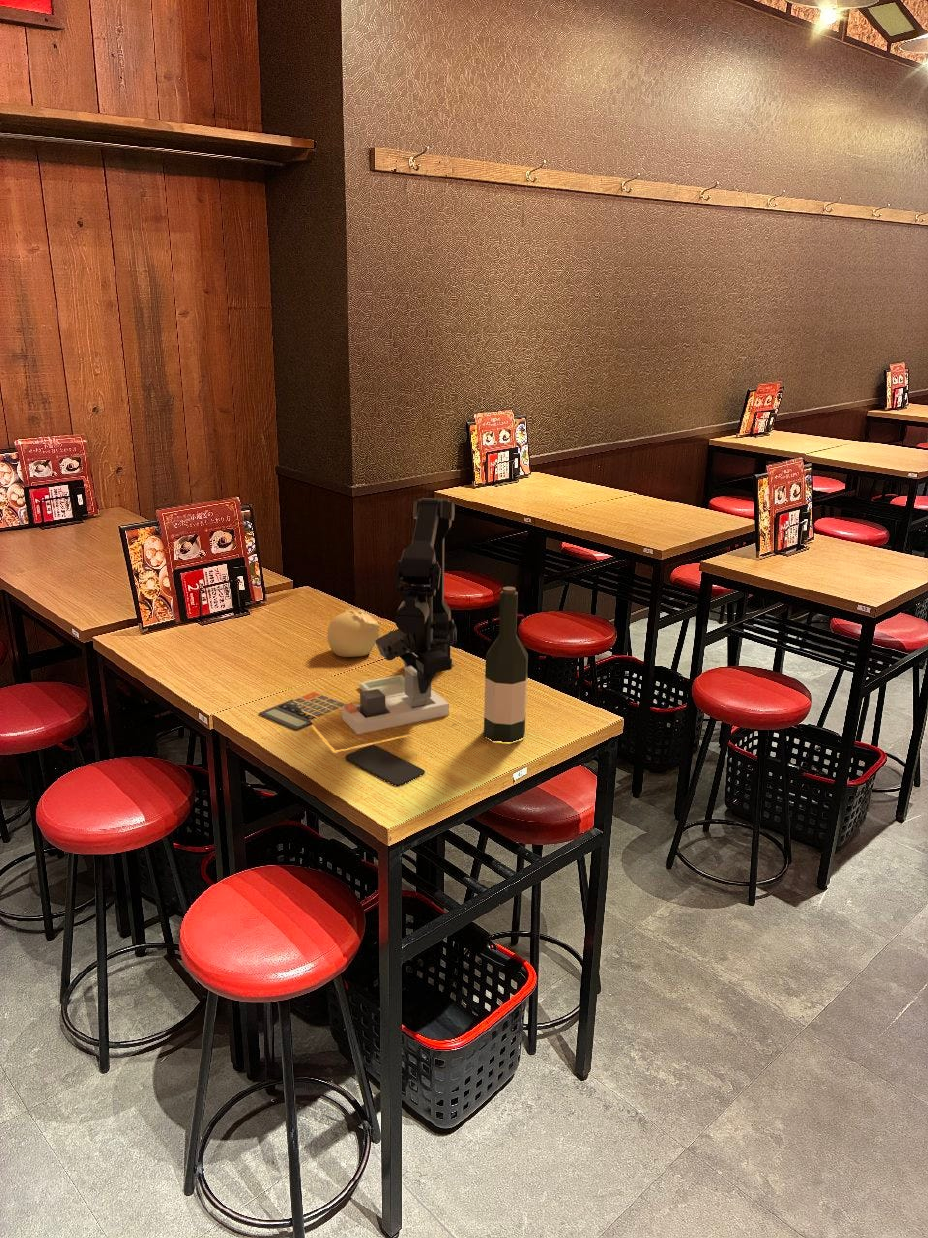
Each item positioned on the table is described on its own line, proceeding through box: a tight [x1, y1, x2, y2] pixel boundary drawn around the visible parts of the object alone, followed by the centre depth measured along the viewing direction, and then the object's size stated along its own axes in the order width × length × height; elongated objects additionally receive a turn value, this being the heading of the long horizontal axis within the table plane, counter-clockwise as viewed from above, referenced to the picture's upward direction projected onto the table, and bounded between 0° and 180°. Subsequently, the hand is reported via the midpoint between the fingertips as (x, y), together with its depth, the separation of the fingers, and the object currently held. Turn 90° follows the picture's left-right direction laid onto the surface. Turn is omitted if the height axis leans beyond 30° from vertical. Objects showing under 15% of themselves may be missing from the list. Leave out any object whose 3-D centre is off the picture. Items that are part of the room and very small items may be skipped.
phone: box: [344, 744, 426, 787], centre depth 164 cm, size 7×1×15 cm
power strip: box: [341, 688, 450, 736], centre depth 182 cm, size 20×8×6 cm, turn 118°
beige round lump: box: [326, 609, 380, 658], centre depth 215 cm, size 12×12×11 cm
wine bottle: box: [483, 586, 529, 742], centre depth 172 cm, size 8×8×30 cm
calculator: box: [258, 691, 345, 732], centre depth 186 cm, size 12×1×15 cm
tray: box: [358, 674, 406, 699], centre depth 194 cm, size 10×10×2 cm
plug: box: [404, 665, 432, 701], centre depth 183 cm, size 4×4×6 cm
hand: (418, 689), depth 183 cm, fingers closed on plug, 4 cm apart
